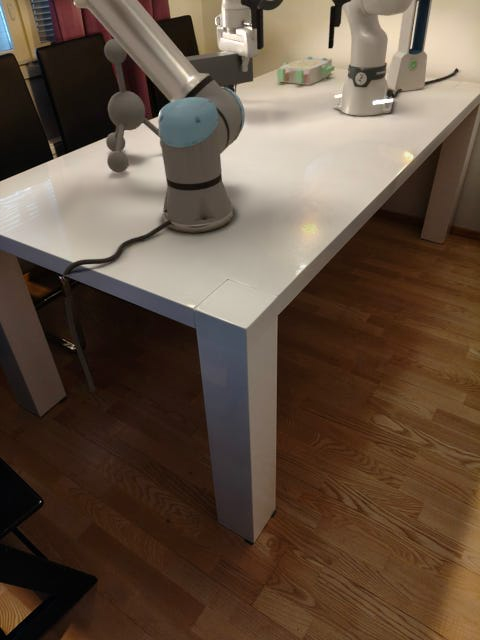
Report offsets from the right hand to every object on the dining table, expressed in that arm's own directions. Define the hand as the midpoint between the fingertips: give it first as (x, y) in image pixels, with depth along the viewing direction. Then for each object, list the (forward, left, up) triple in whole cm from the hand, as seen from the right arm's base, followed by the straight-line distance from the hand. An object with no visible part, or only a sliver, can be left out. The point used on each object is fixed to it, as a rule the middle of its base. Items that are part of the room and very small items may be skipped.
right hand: (238, 69), depth 157 cm
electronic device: (-54, +42, -15) cm, 71 cm away
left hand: (+54, +43, +16) cm, 71 cm away
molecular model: (+45, -8, -15) cm, 48 cm away
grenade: (-17, -15, -15) cm, 27 cm away
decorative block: (-59, -1, -15) cm, 61 cm away
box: (+8, -5, -3) cm, 10 cm away
